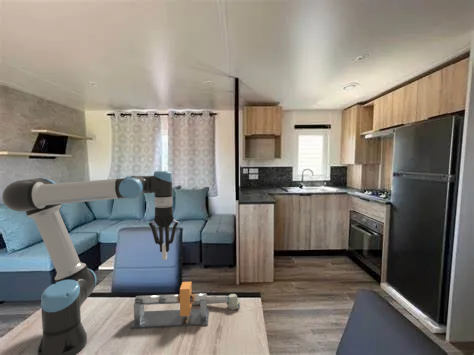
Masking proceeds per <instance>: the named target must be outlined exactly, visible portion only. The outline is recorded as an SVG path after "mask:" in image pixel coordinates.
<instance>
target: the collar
mask: <svg viewBox="0 0 474 355" xmlns="http://www.w3.org/2000/svg"><path fill="white" fill-rule="evenodd" d="M192 282H193V281H182V282H181V285H180V288H179V294H180V303H179V310H180V316H190V312H191V309H193V308H192V307H193V305H192V303H190V295H191V294H193V293H192V292H193V291H192V290H193V289H192V286H193V285H192Z"/></svg>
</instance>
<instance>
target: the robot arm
mask: <svg viewBox="0 0 474 355" xmlns="http://www.w3.org/2000/svg"><path fill="white" fill-rule="evenodd" d="M142 194H154V218H153V220H151V221H150V222H149V223H148V225H149V227H150V229H151V232H152V236H153V240H154V243H155V244H156V245H159V252H160V253H162V254H161V256H162V257H161V258H162V261H166V260H167V258H168V253H169V251H170V244H173V243H174V240H175V235H176V230H177V227H178V226H179V223H180V221H179V220H178V221H177V220H175V217H174V214H173V213H174V212H173V209H174V208H173V206H172V205H173V177H172V172H171V171H170V170H163V171H162V170H160V171H159V170H158V171H157V170H156V171H154V172H153V175H131V176H130V175H129V176H125V177H124V178H123V177H122V178H114V179H113V178H112V179H111V178H110V179H98V180H87V181H85V180H84V181H73V182H72V181H70V182H60V183H56V182H55V181H54V180H51V179H48V178H43V177H38V178H37V177H36V178H31V179H30V178H29V179H20V180H16V181H14V182H11V183H10V184H8V185H7V186H6V187H5V189H4V190H3V192H2V197H1V198H2V201H3V204H5V206H6V207H7V208H8V209H10V210H12V211H15V212H25V213H26V217H28V218H31V219H33V220H34V222H35V225H36V227H37V229H38V232H39V234H40V236H41V238H42V240H43V243H44V245H45V248H46V251H47V252H48V254H49V255H48V256H49V257H50V259H51V262H52V264H53V266H54V269H55V271H56V274H55V276H54V281H55V283H52V284H50V285H49V286H47V287H46V288H45V289H44V290H43V291H42V294H41V295H40V296H41V297H40V298H41V299H40V300H41V301H40V308H41V323H42V324H41V325H42V336H41V339H40V341H39V345H38V347H37V355H77V354H78V353H79V352H81V351H82V350H83V349H84V348H85V347H86V345H87V342H88V335H87V332H86V331H85V327H84V326H83V324H82V318H81V316H82V315H81V307H82V305H83V304H84V303H85V301H86V300H87V299H88V298H89V296H90V295H91V294H92V293H93V292H94V289H95V287H96V285H97V275H96V273H95V271H94V270H92V269H90V268H88V266H87V264H86V263H84V262H81V260H80V258H79V256H78V253H77V250H76V248H75V245H74V244H73V240H72V238H71V236H70V234H69V232H68V229H67V227H66V224H65V222H64V219H63V218H62V215H61V212H60V209H61V207H62V205H64V204H75V203H83V202H84V203H85V202H94V201H95V202H96V201H106V200H117V199H128V200H129V199H130V200H131V199H136V198H138V197H139V196H141V195H142ZM156 225H157V227H158V230H157V227H156ZM171 225H172V230H171V235H170V226H171ZM158 233H159V234H158ZM164 236H165V238H164ZM164 239H165V243H164Z"/></svg>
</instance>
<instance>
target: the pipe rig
mask: <svg viewBox="0 0 474 355" xmlns="http://www.w3.org/2000/svg"><path fill="white" fill-rule="evenodd" d="M207 296H208V294H207V293H205V292H203V293H192V294H191V295H190V303H200V305H199V306H200V308H194V309H193V308H191V312H190V316H180V309H168V310H167V309H165V310H148V311H147V310H145V306H149V305H152V306H153V305H169V304H170V305H171V304H172V305H174V304H175V305H176V304H180V293H179V294H177V293H176V294H156V295H155V294H153V295H136V296H135V299H134V303H133V321H132V323H131V325H130V328H129V329H131V330H132V329H133V330H134V329H154V328H155V329H156V328H176V327H180V328H181V327H198V326H199V327H200V326H209V315H210V308H208V304H207Z"/></svg>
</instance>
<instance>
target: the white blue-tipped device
mask: <svg viewBox="0 0 474 355" xmlns="http://www.w3.org/2000/svg"><path fill="white" fill-rule="evenodd" d="M240 303H241V300H240V299H238V295H237V294H236V293H230V294H229V295H207V305H211V304H213V305H214V304H226V305H227V308H228V309H229V310H231V311H232V310H234V311H235V310H236V309H237V310H238V309H239V308H240V305H241V304H240ZM197 305H198V306H200V303H192V306H197Z"/></svg>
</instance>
